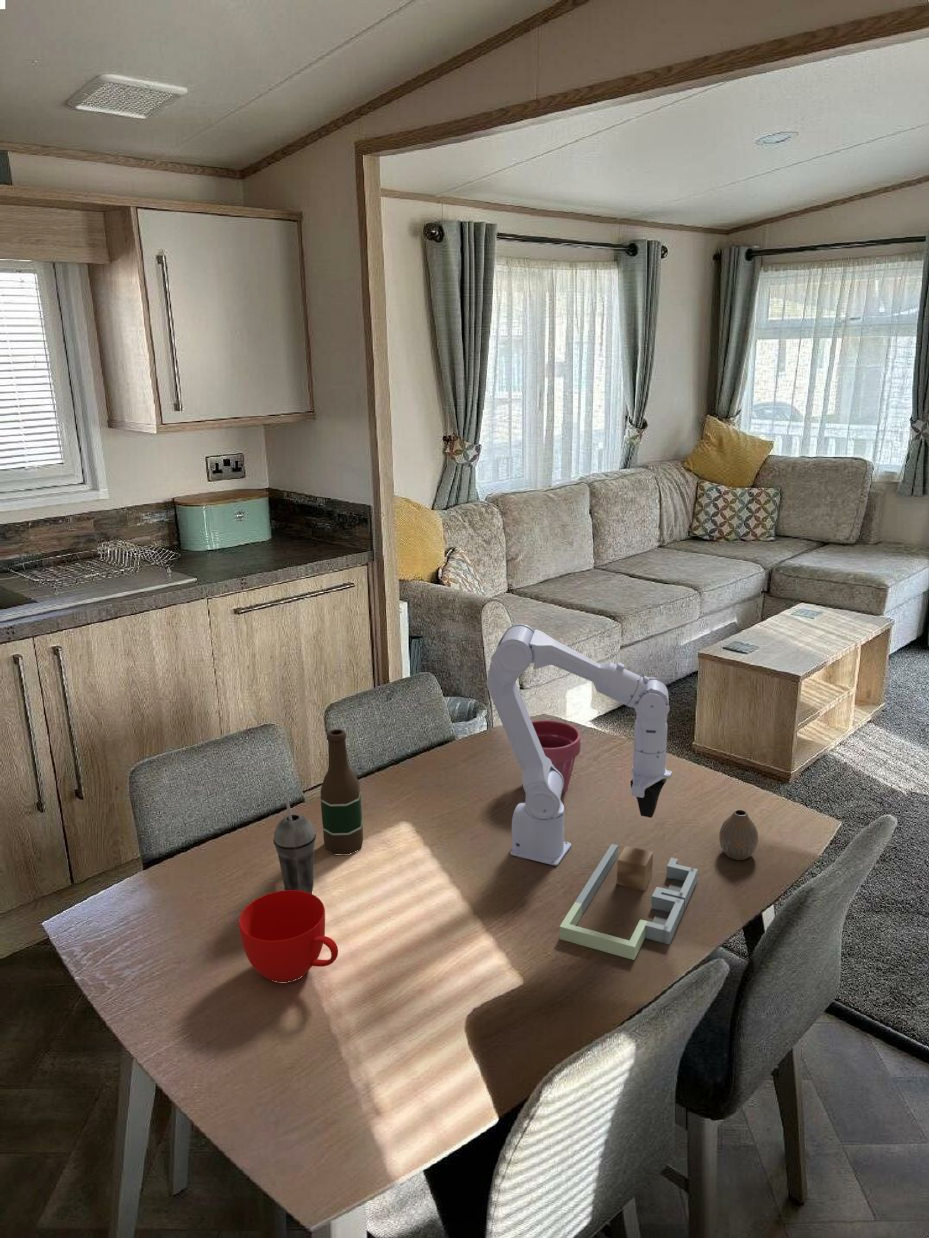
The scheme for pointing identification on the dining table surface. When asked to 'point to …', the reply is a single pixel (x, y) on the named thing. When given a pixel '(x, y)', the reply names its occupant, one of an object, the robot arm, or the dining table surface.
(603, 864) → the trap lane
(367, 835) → the dining table surface
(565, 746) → the plant pot
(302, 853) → the beverage cup
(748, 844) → the vase
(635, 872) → the walnut block
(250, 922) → the ceramic cup
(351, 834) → the beer bottle
